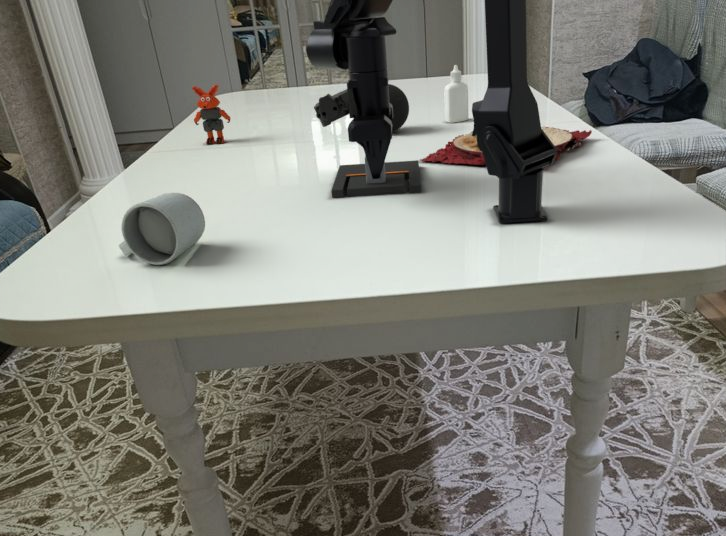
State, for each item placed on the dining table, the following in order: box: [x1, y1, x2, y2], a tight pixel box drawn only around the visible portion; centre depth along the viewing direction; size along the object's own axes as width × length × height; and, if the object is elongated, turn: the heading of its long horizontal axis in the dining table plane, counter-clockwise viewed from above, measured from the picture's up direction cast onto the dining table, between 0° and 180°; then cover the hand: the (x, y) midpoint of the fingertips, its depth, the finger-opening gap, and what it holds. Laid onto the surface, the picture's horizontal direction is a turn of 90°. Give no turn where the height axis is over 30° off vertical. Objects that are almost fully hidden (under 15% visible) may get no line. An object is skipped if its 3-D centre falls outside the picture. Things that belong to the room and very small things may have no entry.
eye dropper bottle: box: [443, 64, 469, 124], centre depth 145 cm, size 4×6×12 cm
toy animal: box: [191, 83, 231, 146], centre depth 140 cm, size 8×6×12 cm
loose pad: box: [346, 155, 406, 197], centre depth 102 cm, size 7×9×5 cm
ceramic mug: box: [118, 192, 206, 266], centre depth 80 cm, size 11×8×8 cm
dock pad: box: [331, 159, 422, 199], centre depth 106 cm, size 16×14×1 cm
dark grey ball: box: [388, 83, 410, 133], centre depth 139 cm, size 10×10×10 cm
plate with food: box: [419, 126, 593, 166], centre depth 119 cm, size 24×26×3 cm
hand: (376, 175), depth 102 cm, fingers closed on loose pad, 3 cm apart
